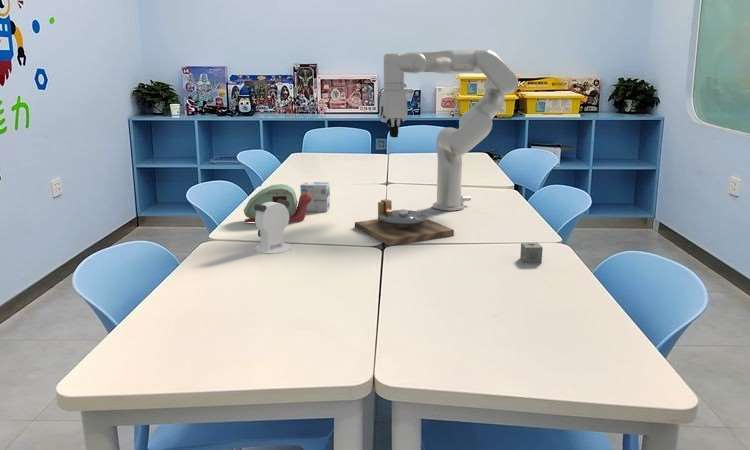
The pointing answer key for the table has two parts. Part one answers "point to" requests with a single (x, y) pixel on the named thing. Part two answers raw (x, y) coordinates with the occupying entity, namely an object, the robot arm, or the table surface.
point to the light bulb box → (317, 195)
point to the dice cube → (531, 252)
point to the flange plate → (403, 219)
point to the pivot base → (402, 230)
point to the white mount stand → (272, 226)
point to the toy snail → (273, 195)
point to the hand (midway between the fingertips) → (393, 136)
